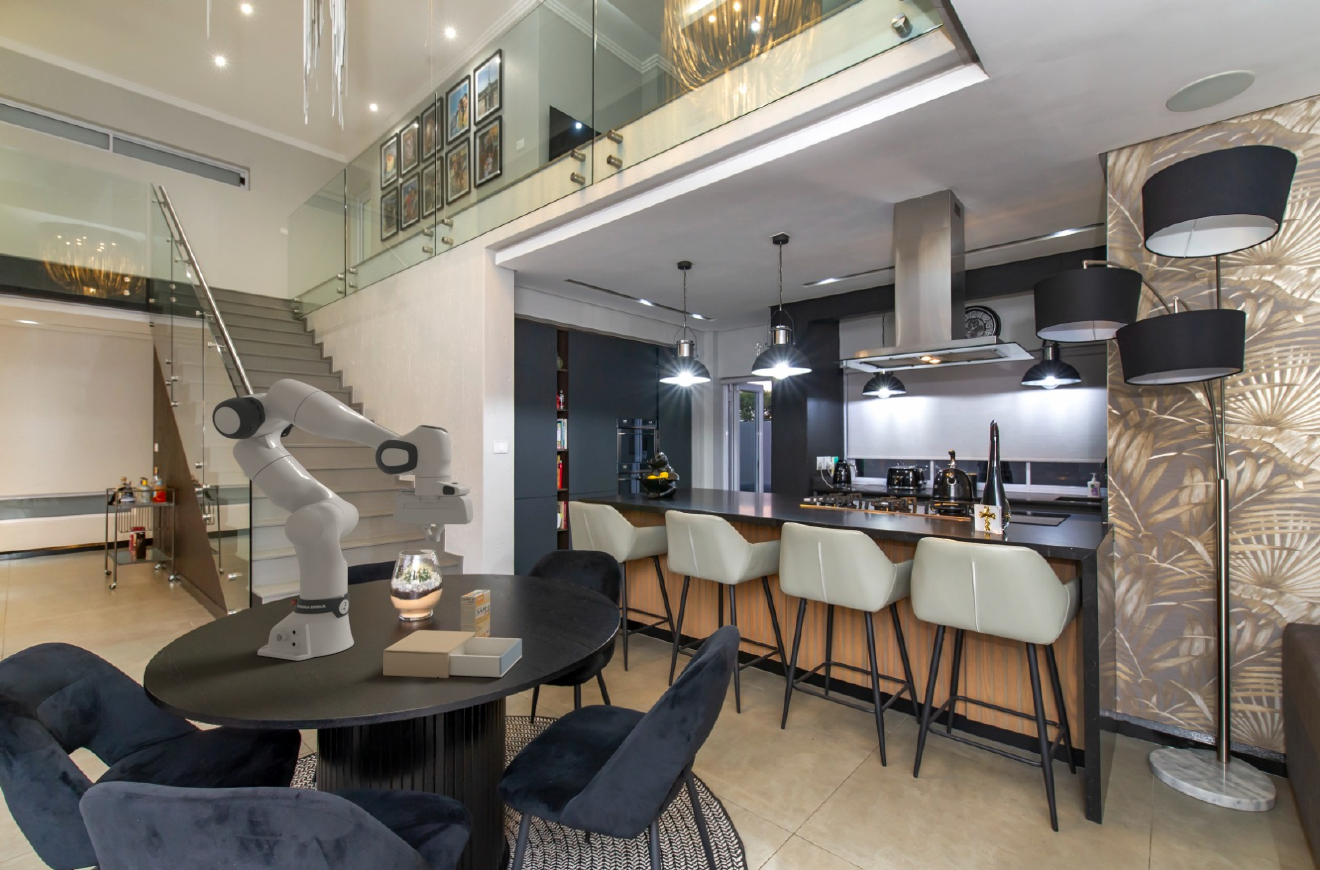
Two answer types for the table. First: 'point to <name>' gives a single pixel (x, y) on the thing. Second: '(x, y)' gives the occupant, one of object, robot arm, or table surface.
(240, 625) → the table surface
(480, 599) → the supplement box
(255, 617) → the table surface
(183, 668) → the table surface
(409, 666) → the mailer sleeve
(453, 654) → the tray
